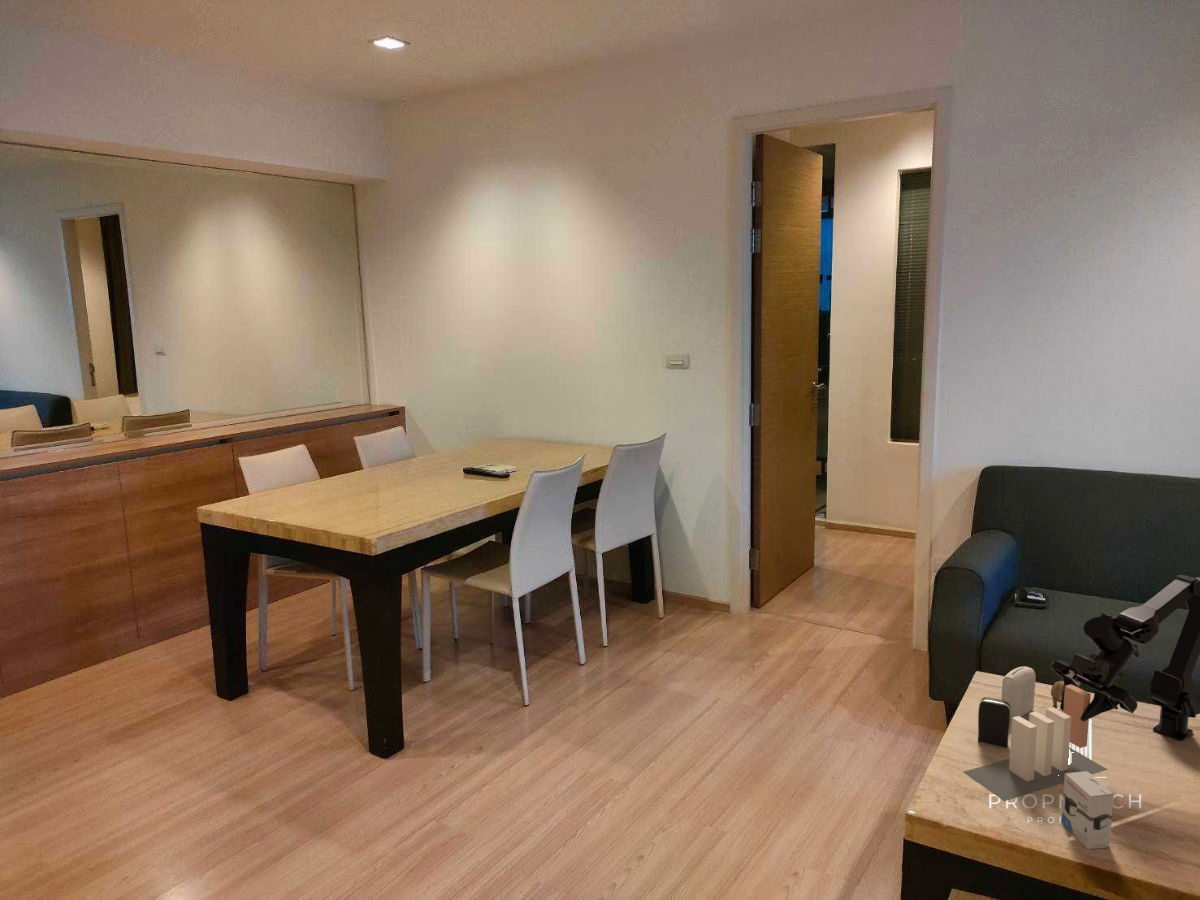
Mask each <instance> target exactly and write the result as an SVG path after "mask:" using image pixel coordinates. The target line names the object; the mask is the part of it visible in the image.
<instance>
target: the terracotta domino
mask: <svg viewBox="0 0 1200 900" xmlns="http://www.w3.org/2000/svg"><path fill="white" fill-rule="evenodd" d="M1091 697H1092V696H1091V693H1090V692H1088V691H1085V689H1082V688H1080V687H1079V688H1078V687H1076V686H1074V685H1072V684H1071V685H1067V686H1065V693H1064V709H1063V710H1062V712H1063V713H1065V714H1067V715H1069V716H1071V730H1070V743H1071V744H1072V745H1074V746H1076V747H1078V748H1079V749H1081V748H1082V749H1083V748H1086V747H1087V746H1088V738H1089V737H1088V735H1089V725H1090V723H1089V722H1090V719H1088V720H1086V721H1082V720H1081V719H1080V718H1081V716H1082V714H1083V713H1084V711H1085V710H1086V708H1087V707H1088V706H1089V704H1090V703H1091Z"/></svg>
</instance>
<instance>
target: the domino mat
mask: <svg viewBox="0 0 1200 900" xmlns="http://www.w3.org/2000/svg"><path fill="white" fill-rule="evenodd" d="M1069 749H1070V751H1071V752H1074V753H1072V763H1071V764H1070V765H1068V769H1067V770H1064V771H1060V770H1058V769H1056V768H1055V767H1053V766H1051V774H1050V775H1047V776H1043V775H1041V774H1040V773H1038V772H1037V771H1035V770H1034V780H1030V781H1025V780H1024V779H1022V778H1021V777H1019V776H1018V775H1016V774H1015V773H1013V772H1012V771H1010V770H1009V763H1010V757H1009V758H1005V759H1003V760H999V761H995V762H992V763H988V764H985V765H983V766H982V765H981V766H978V767H974V768H971V769H968V770H965V771H963V773H964V774H965V775H966V776H968V777H970V778H971V779H972V780H973V781H975V782H976V783H978V784H979V785H980V786H982V787H983V788H985V789H986V790H988V791H989V792H991V793H992V794H993V795H995V796H996V797H998V798H999V799H1000V800H1002V801H1003V802H1006V801H1009V800H1012V799H1015V798H1018V797H1022V796H1025V795H1029V794H1032V793H1035V792H1038V791H1041V790H1044V789H1048V788H1050V787H1055V786H1058V785H1062V784H1064V778H1065V773H1072V772H1082V771H1086V772H1089V773H1090V774H1091V775H1094V774H1097V773H1100V772H1104V771H1106V770H1108V768H1106V767H1105V766H1102V765H1101V764H1099V763H1097V762H1096V761H1094V760H1092V759H1090V758H1089V757H1087V756H1086V755H1084V754H1082V753H1080V752H1078V751H1077V750H1075V749H1073V748H1072V747H1070V746H1069ZM1058 775H1059V776H1058Z"/></svg>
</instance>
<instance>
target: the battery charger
mask: <svg viewBox="0 0 1200 900" xmlns="http://www.w3.org/2000/svg"><path fill="white" fill-rule="evenodd" d="M978 705H979V706H978V713H977V714H978V716H977V723H978V724H977V727H978V728H977V731H978V732H977V742H978V743H983V744H986V745H992V746H996V747H1001V748H1006V749H1007V748H1009V738H1010V737H1009V736H1010V734H1009V733H1010V727H1011V719H1010V714H1011V708H1010V704H1009V703H1008V702H1007V701H1004V700H1001V699H999V698H994V697H988V696H987V697H986V696H985V697H982V698H981V699H980V701H979V704H978Z"/></svg>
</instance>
